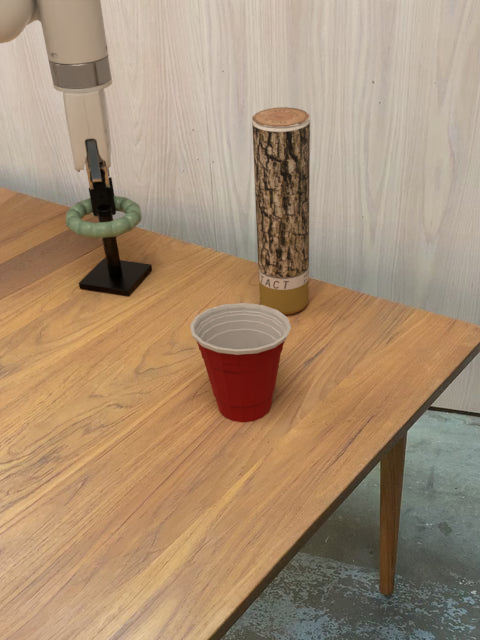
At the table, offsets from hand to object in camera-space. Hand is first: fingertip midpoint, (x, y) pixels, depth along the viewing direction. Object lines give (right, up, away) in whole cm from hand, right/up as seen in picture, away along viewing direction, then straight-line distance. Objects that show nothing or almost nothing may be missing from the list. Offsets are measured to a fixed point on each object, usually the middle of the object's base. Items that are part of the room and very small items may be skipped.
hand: (104, 209), depth 112 cm
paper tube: (+26, -15, -3) cm, 30 cm away
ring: (+1, -2, -3) cm, 4 cm away
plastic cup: (+21, -31, -21) cm, 43 cm away
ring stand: (+1, -9, +3) cm, 10 cm away
